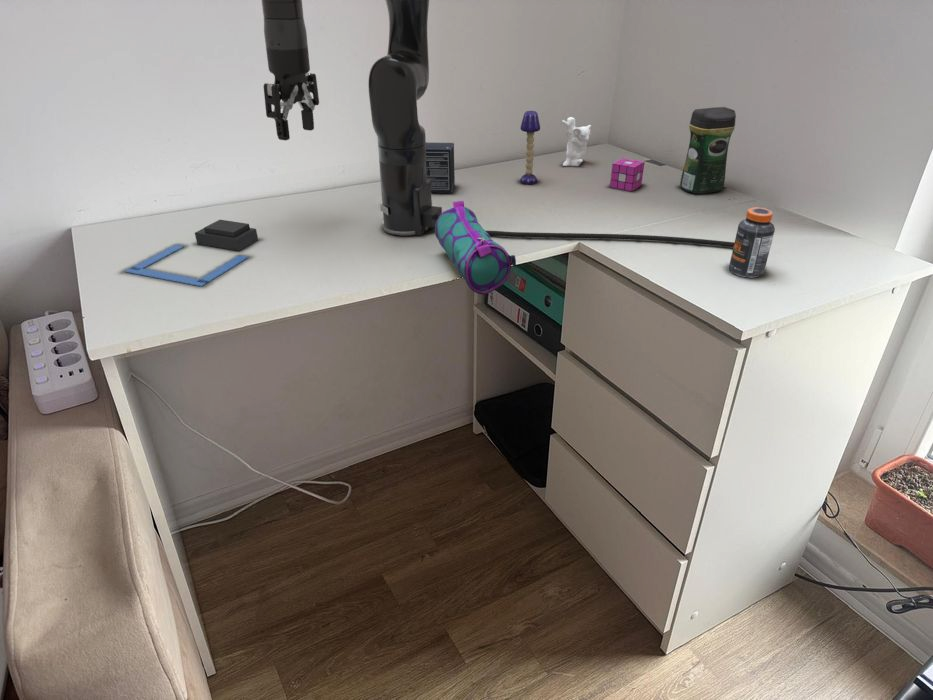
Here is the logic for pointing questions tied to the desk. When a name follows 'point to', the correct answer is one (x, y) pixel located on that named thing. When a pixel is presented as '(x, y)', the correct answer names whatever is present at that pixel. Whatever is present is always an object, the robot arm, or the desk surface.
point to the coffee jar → (708, 149)
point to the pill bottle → (752, 243)
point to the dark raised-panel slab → (227, 235)
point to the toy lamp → (529, 144)
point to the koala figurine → (576, 142)
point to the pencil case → (473, 249)
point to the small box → (440, 167)
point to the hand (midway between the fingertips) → (296, 134)
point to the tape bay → (177, 278)
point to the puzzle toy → (627, 174)
